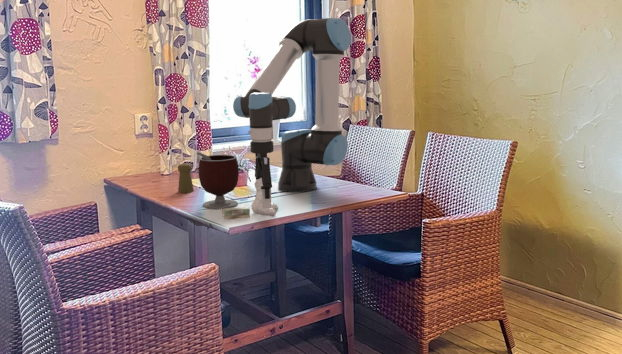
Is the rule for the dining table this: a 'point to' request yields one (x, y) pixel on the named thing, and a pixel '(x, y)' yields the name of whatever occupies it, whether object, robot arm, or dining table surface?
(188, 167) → the cork
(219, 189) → the mate gourd
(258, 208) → the seated beast figurine
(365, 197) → the dining table surface
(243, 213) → the green brown flat box
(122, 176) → the dining table surface
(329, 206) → the dining table surface
